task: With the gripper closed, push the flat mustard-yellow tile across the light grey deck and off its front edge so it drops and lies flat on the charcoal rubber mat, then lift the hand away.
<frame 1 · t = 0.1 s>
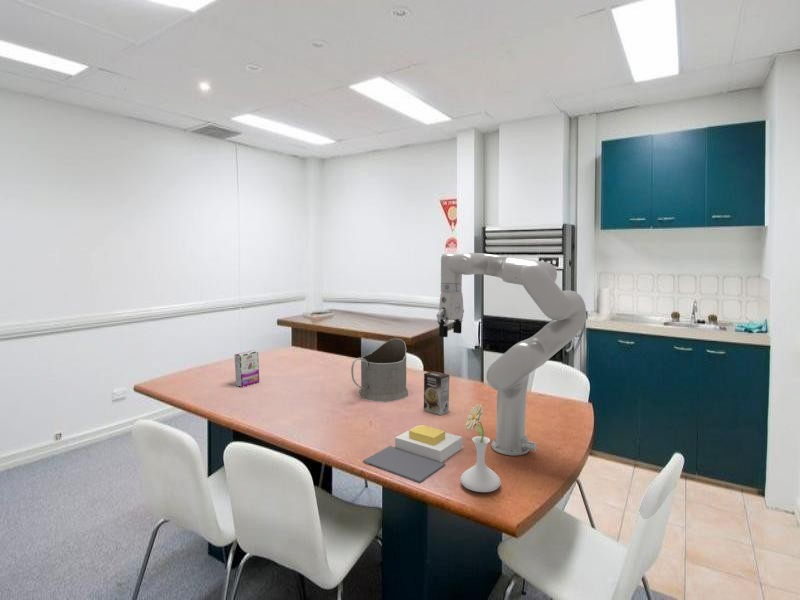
hand: (450, 334, 167), 37 cm above the table, tool pointing down, fingers open, 9 cm apart
pitcher: (377, 396, 213), on the table
deck: (428, 448, 156), on the table
candy bar box: (247, 384, 232), on the table
coffee box: (436, 411, 193), on the table
tile: (427, 438, 154), point 4 cm above the table, touching deck
mat: (403, 463, 144), on the table
flower in vase: (479, 488, 130), on the table
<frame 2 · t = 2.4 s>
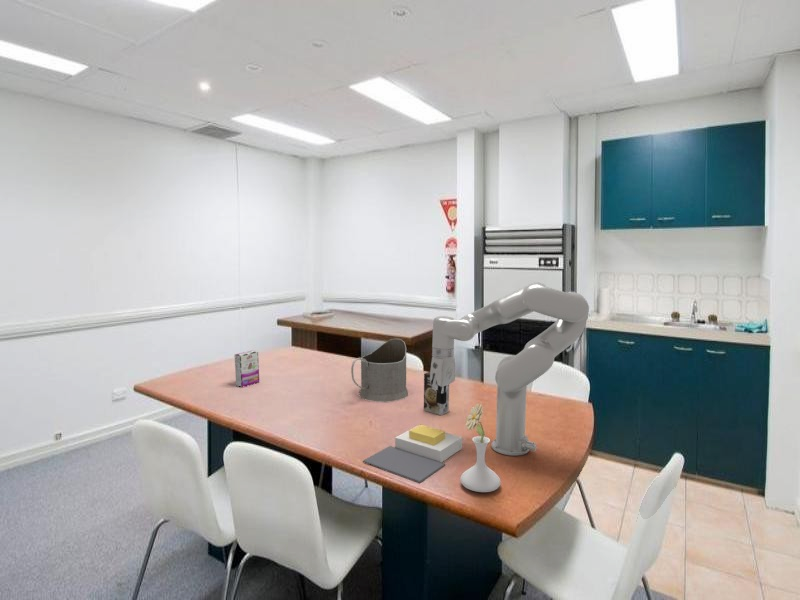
hand: (441, 402, 162), 14 cm above the table, tool pointing down, fingers closed
nothing on the table moved.
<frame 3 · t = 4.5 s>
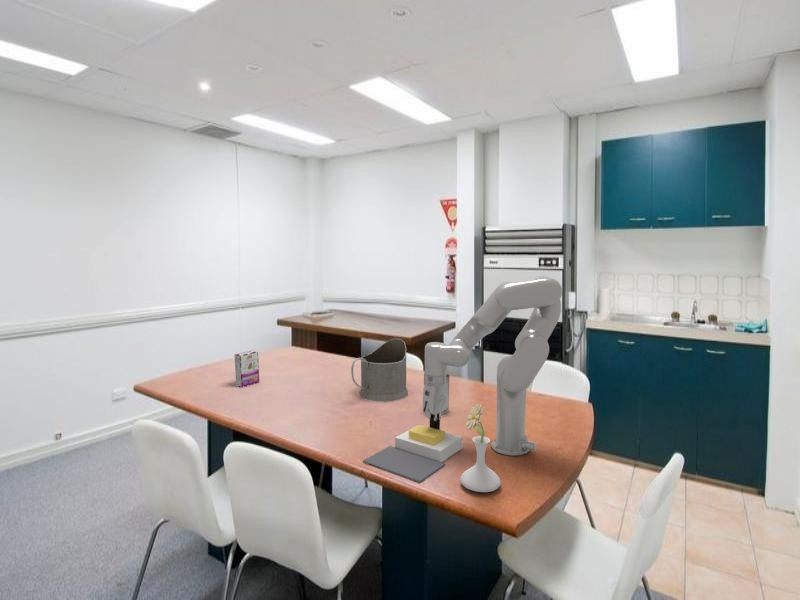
hand: (434, 430, 158), 5 cm above the table, tool pointing down, fingers closed
tile: (426, 438, 154), point 4 cm above the table, touching gripper
everything else where it was.
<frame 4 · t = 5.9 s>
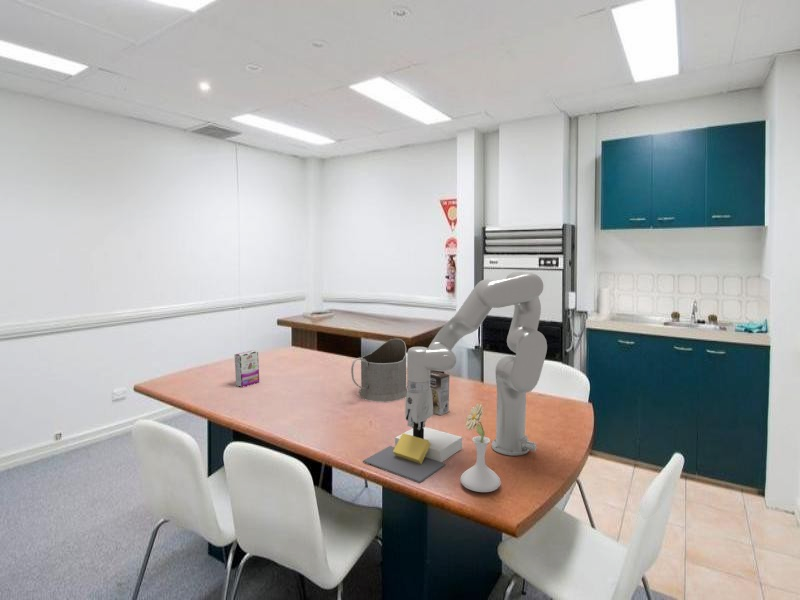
hand: (418, 439, 150), 5 cm above the table, tool pointing down, fingers closed
tile: (413, 450, 148), point 3 cm above the table, tilted 40°, touching gripper, mat
everything else where it was.
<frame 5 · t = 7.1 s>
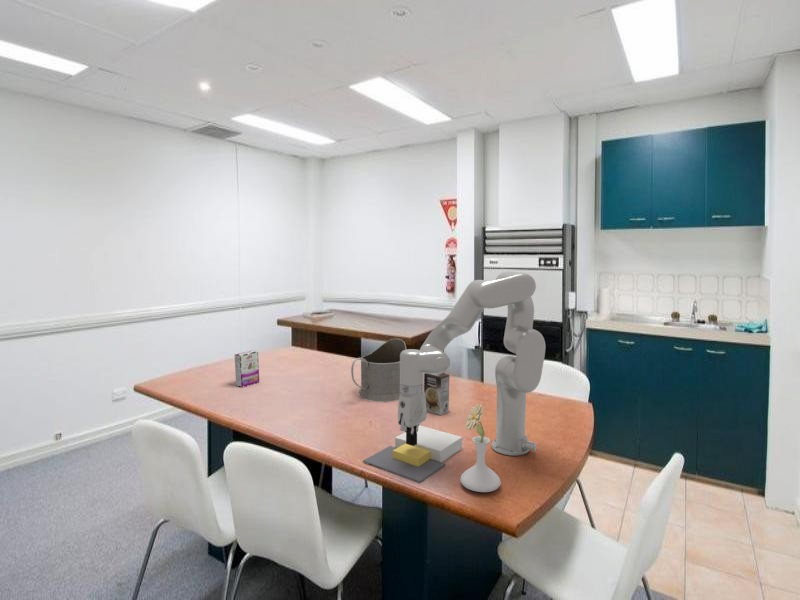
hand: (411, 444, 147), 5 cm above the table, tool pointing down, fingers closed
tile: (411, 458, 147), point 1 cm above the table, touching mat
everything else where it was.
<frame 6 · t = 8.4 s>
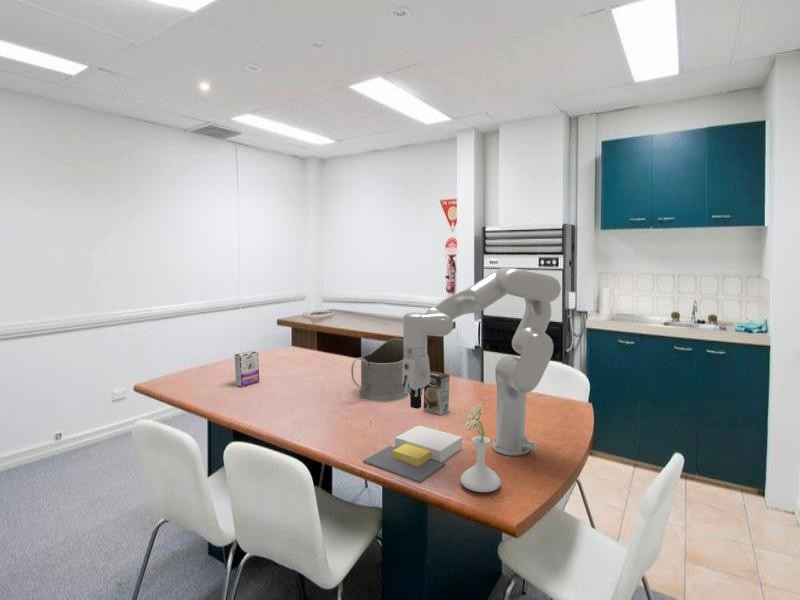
hand: (415, 407, 148), 17 cm above the table, tool pointing down, fingers closed
nothing on the table moved.
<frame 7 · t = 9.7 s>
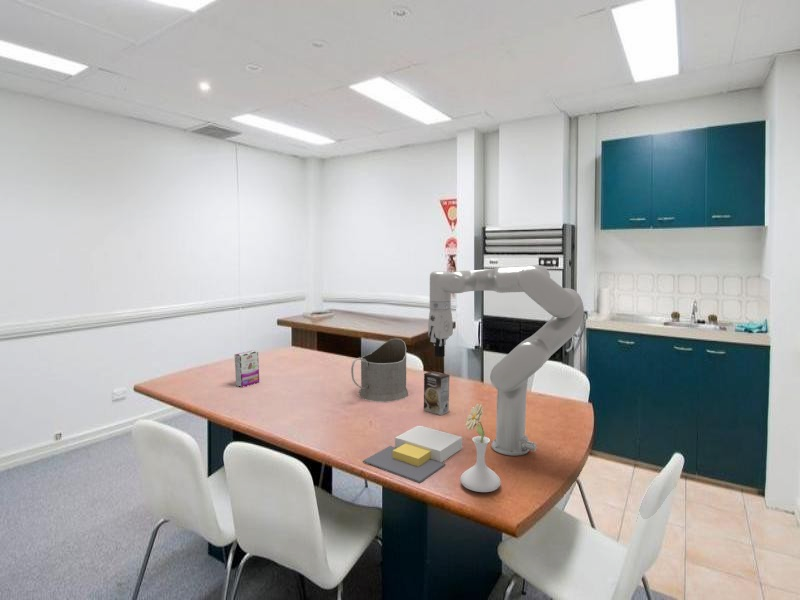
hand: (439, 356, 165), 29 cm above the table, tool pointing down, fingers closed
nothing on the table moved.
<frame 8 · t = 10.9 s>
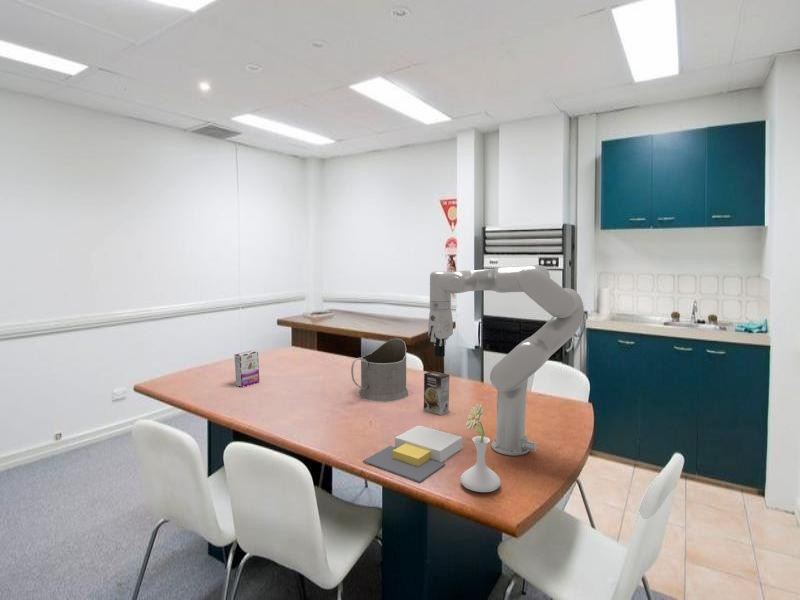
hand: (439, 356, 165), 29 cm above the table, tool pointing down, fingers closed
nothing on the table moved.
at the end: tile inside the target area (3.9 cm from its centre), point 0.6 cm above the table; tile tilted 0° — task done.
